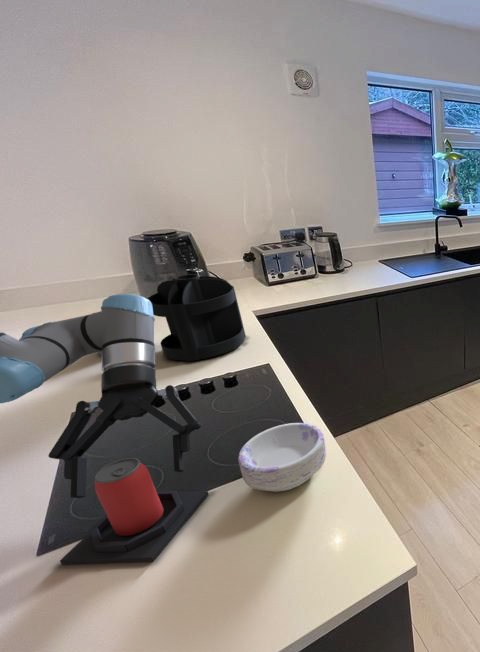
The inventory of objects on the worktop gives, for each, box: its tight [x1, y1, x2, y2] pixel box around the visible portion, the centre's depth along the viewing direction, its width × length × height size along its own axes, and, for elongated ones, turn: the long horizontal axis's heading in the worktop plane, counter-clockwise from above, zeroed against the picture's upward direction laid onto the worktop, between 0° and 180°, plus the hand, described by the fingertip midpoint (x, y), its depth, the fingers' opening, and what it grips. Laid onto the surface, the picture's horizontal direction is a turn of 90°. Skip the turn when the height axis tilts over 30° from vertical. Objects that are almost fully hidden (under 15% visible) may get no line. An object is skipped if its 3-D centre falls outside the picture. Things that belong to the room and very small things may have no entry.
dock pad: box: [59, 490, 209, 566], centre depth 70 cm, size 14×14×2 cm
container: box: [147, 273, 247, 362], centre depth 131 cm, size 22×23×25 cm
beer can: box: [94, 457, 164, 536], centre depth 68 cm, size 7×7×12 cm
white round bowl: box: [237, 422, 327, 493], centre depth 82 cm, size 15×15×8 cm
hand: (131, 483), depth 70 cm, fingers open, 13 cm apart
